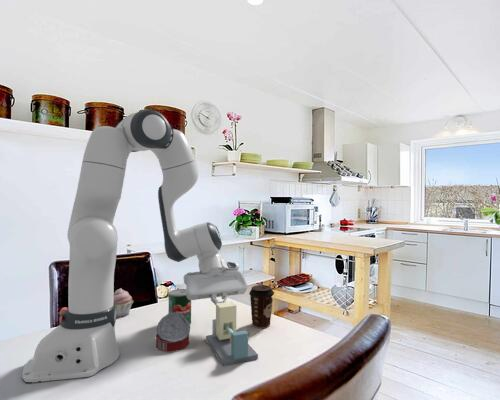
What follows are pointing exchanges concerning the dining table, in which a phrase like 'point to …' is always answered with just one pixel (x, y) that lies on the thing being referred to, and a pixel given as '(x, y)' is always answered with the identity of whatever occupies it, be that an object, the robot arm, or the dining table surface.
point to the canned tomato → (180, 303)
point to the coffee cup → (261, 305)
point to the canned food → (172, 332)
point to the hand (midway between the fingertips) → (221, 308)
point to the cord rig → (231, 346)
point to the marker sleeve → (225, 319)
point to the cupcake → (122, 302)
